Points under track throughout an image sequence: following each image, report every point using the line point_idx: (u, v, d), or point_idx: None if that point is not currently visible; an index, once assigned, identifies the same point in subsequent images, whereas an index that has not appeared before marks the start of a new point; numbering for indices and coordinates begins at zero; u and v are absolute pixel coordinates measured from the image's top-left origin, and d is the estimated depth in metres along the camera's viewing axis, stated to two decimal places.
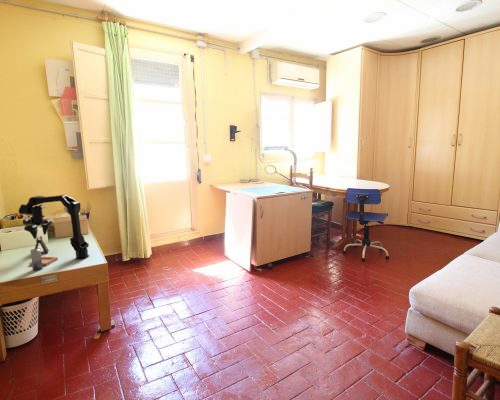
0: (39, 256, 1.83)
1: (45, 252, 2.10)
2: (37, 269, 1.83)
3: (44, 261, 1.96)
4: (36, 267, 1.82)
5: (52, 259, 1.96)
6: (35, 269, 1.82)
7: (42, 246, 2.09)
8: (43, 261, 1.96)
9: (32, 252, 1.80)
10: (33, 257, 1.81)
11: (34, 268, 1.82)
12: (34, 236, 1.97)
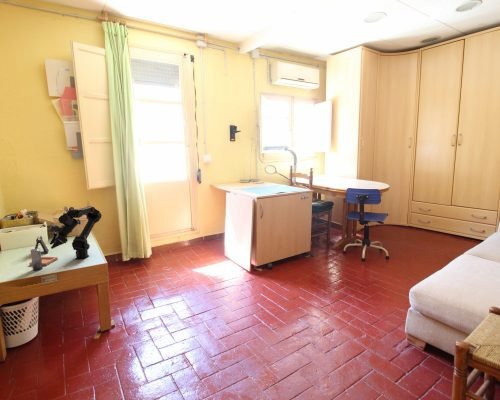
0: (39, 256, 1.83)
1: (45, 252, 2.10)
2: (37, 269, 1.83)
3: (44, 261, 1.96)
4: (36, 267, 1.82)
5: (52, 259, 1.96)
6: (35, 269, 1.82)
7: (42, 246, 2.09)
8: (43, 261, 1.96)
9: (32, 252, 1.80)
10: (33, 257, 1.81)
11: (34, 268, 1.82)
12: (54, 246, 1.84)
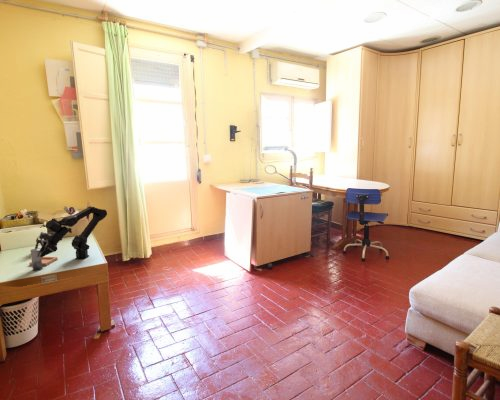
0: (39, 256, 1.83)
1: None
2: (37, 269, 1.83)
3: (44, 261, 1.96)
4: (36, 267, 1.82)
5: (52, 259, 1.96)
6: (35, 269, 1.82)
7: None
8: (43, 261, 1.96)
9: (32, 252, 1.80)
10: (33, 257, 1.81)
11: (34, 268, 1.82)
12: (43, 254, 1.81)
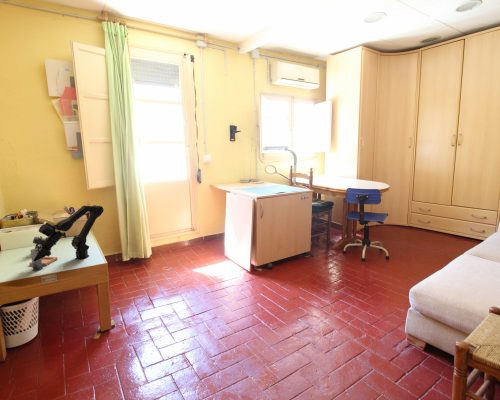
0: None
1: None
2: (37, 269, 1.83)
3: (44, 261, 1.96)
4: (36, 267, 1.82)
5: (52, 259, 1.96)
6: (35, 269, 1.82)
7: None
8: (43, 261, 1.96)
9: (32, 252, 1.80)
10: (33, 257, 1.81)
11: (34, 268, 1.82)
12: (37, 258, 1.81)
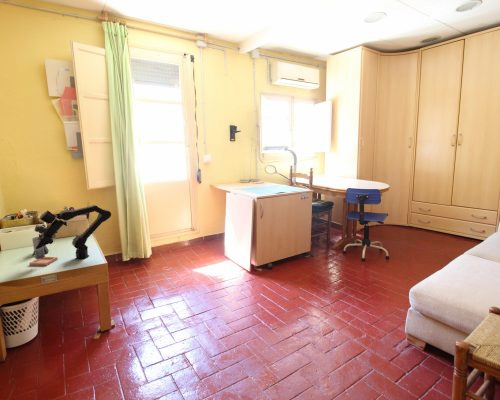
0: None
1: (45, 252, 2.10)
2: (39, 257, 1.86)
3: (44, 261, 1.96)
4: (38, 255, 1.85)
5: (52, 259, 1.96)
6: (38, 257, 1.85)
7: None
8: (43, 261, 1.96)
9: (34, 240, 1.83)
10: (35, 245, 1.84)
11: (36, 256, 1.85)
12: (39, 246, 1.84)
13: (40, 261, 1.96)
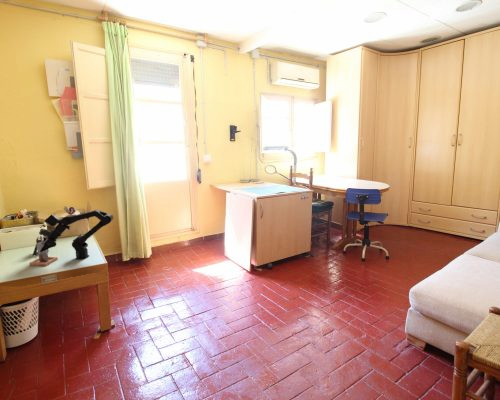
0: None
1: None
2: (44, 261, 1.93)
3: None
4: (42, 259, 1.93)
5: (52, 259, 1.96)
6: (42, 261, 1.93)
7: None
8: None
9: (38, 245, 1.90)
10: (39, 250, 1.91)
11: (41, 260, 1.93)
12: (43, 249, 1.90)
13: None
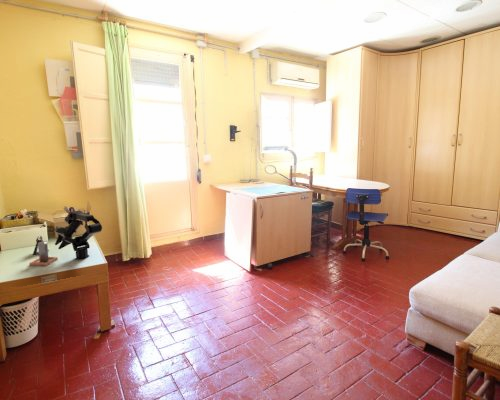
0: (46, 249, 1.94)
1: None
2: (44, 261, 1.93)
3: None
4: (42, 259, 1.93)
5: (52, 259, 1.96)
6: (42, 261, 1.93)
7: None
8: None
9: (39, 245, 1.91)
10: (40, 249, 1.92)
11: (41, 260, 1.93)
12: (61, 247, 1.96)
13: None
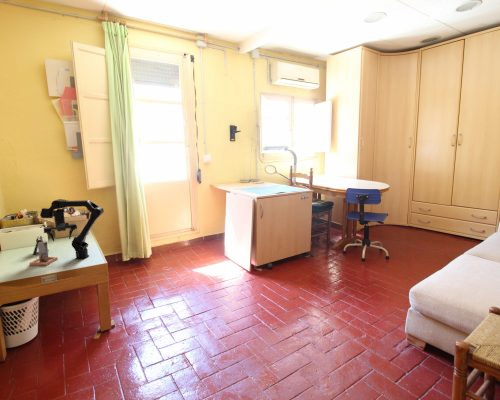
0: (46, 249, 1.94)
1: None
2: (43, 261, 1.93)
3: None
4: (42, 259, 1.93)
5: (52, 259, 1.96)
6: (42, 261, 1.93)
7: None
8: None
9: (39, 245, 1.91)
10: (40, 249, 1.92)
11: (41, 260, 1.93)
12: None
13: None
